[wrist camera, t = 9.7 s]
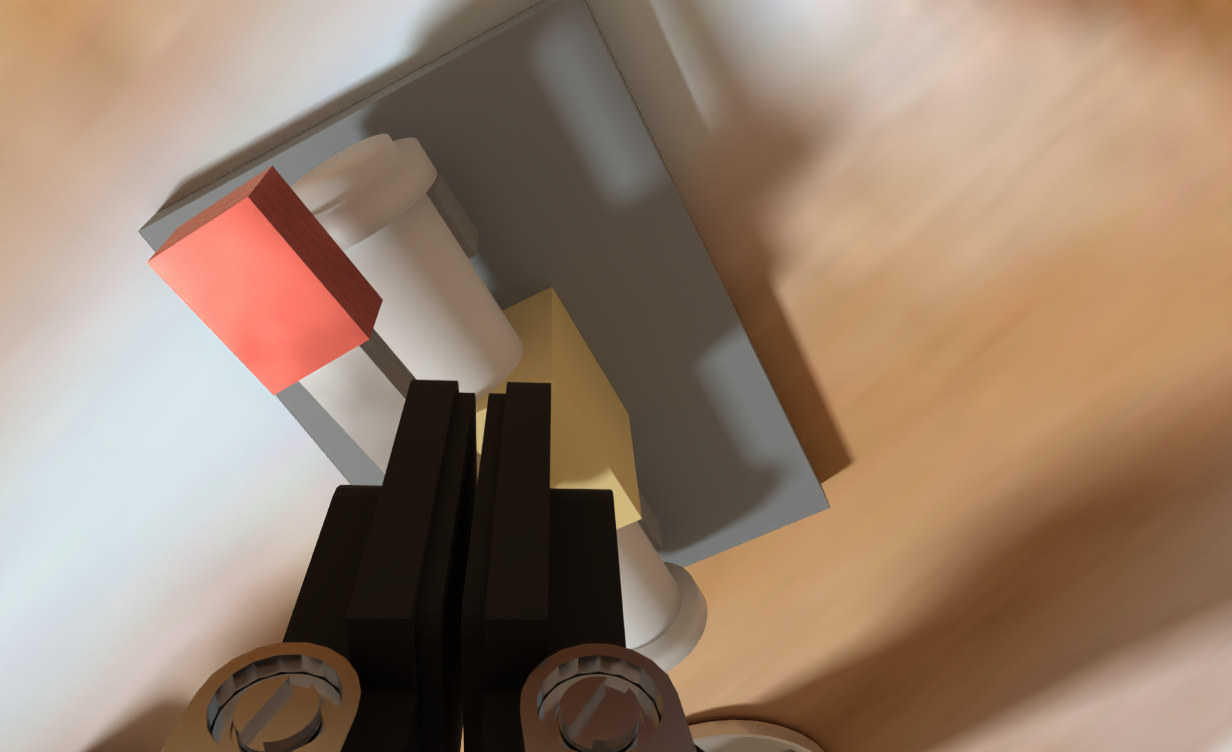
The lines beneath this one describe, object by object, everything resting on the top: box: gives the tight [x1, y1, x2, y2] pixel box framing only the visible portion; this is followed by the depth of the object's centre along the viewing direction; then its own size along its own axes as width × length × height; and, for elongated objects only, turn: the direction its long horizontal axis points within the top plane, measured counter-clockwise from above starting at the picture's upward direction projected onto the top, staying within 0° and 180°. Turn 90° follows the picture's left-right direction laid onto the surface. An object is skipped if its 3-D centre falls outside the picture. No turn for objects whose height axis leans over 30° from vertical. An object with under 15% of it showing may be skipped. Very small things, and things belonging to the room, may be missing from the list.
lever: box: [147, 165, 481, 482], centre depth 24 cm, size 14×3×2 cm, turn 30°
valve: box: [138, 0, 830, 673], centre depth 31 cm, size 22×16×9 cm
